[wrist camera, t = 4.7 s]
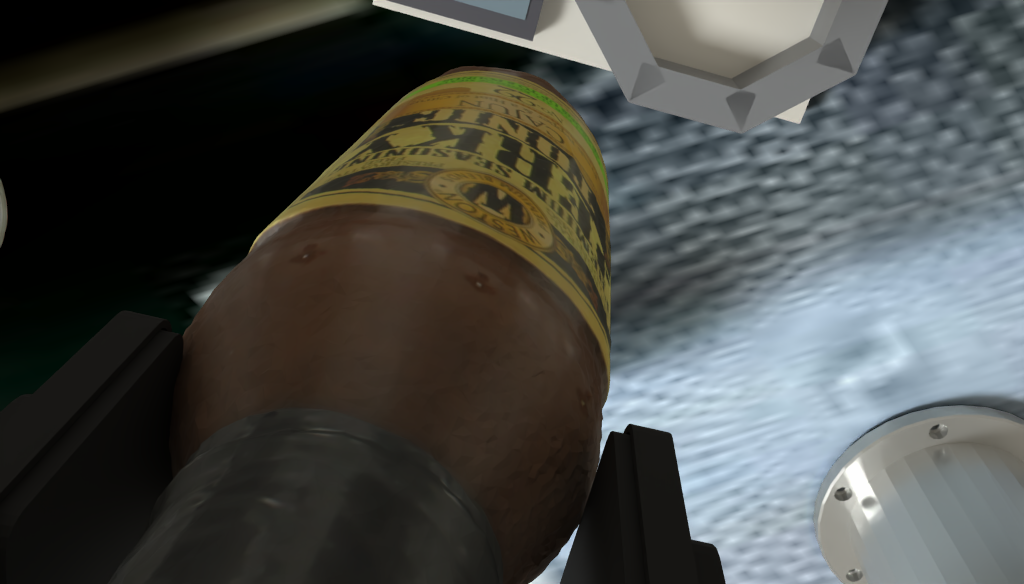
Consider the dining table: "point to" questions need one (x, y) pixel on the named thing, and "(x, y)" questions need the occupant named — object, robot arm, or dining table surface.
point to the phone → (487, 13)
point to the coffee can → (2, 213)
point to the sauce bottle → (402, 359)
